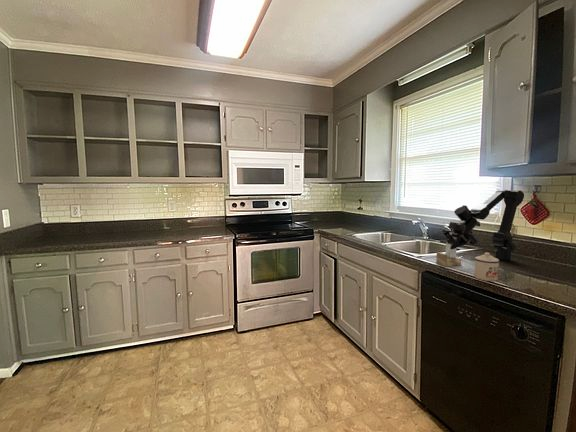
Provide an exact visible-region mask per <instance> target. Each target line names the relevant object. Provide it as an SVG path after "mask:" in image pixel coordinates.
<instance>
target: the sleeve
mask: <svg viewBox="0 0 576 432" xmlns="http://www.w3.org/2000/svg"><path fill="white" fill-rule="evenodd" d="M435 263H436V264H438V265H441V266H444V267H451V266H461V265H462V258H461V257H456V258H452V259H447V255H446V254H445V253H443V252H439V251H437V252H436V261H435Z"/></svg>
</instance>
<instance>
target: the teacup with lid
mask: <svg viewBox="0 0 576 432" xmlns="http://www.w3.org/2000/svg"><path fill="white" fill-rule="evenodd" d="M499 267H500V260H499V259H497V258H495V257H494V256H493V255H491V253H490V252H484V253H483V254H481V255H477V256H475V257H474V272H473V273H474V274H473V275H474V278H475V279H477V280H482V281H485V282H497V281H498V279H499V278H498V277H499V276H498V275H499Z"/></svg>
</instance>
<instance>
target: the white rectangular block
mask: <svg viewBox="0 0 576 432" xmlns="http://www.w3.org/2000/svg"><path fill="white" fill-rule="evenodd" d="M453 244H454V243H447V242H446V243H445V253H444V254H446V255H447V259H452V258H457V248H455V249H451V247H452V245H453Z"/></svg>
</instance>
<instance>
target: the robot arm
mask: <svg viewBox="0 0 576 432" xmlns="http://www.w3.org/2000/svg"><path fill="white" fill-rule="evenodd" d="M524 198H525V193H524V192H523V191H522V190H517V189H516V190H511V189H510V190H507V189H497V190H496V191H495V192H494V193H493V194H492V195H491V196H490V197H488V198H487V199H486V200H485V201H484V202H483V203H481V204H479V205H477V206H475V207H473V208H471V209H469V208H468V206H467V205H463V204H462V206H460V207H457V208H456V209H454V214H455V216H457V217H458V219H459V220H460V222H459V223H457V222H454V221H450V222H449V224H448V226H447V228H448V229H443V230H442V231H441V234H442V235H443V236H444V237H445V238H446V239H447V242H446V243H454V244H453V245H452V247H451V249H455V248H456V249H457V248H460V247H462V246H463V247H464V246H465V245H469V244H470V245H472V246H475V245H476V244H478V239H477V238H476V237H475V235H473V233H474V232H473V231H474V229H475V227H479V228H480V227H481V222H480V221H479V220H481V221H482V220H485V219H486V218H487V217H488V216H489V215H490V214H491V213H490V212H491V210H492V209H493V208H494V207H495V206H497V205H498V204H499V203H500V202H501V201H503V203H504V204H505V208H504V210H503V214H502V219H501V221H500V225H499V229H498V230H497V231H494V232H493V235H492V238H491V240H492V241H491V243H492V245H493V248H496V250H495V257H494V258H497V259H499V261H503V262H505V261H506V262H512V252H513V251H516V248H517V246H516V245H515V243H513V236H512V232H511V231H512V227H513V223H514V220H515V215H516V212H517V209H518V207H519V205H521V204H522V202H523V201H524ZM450 229H451V230H450ZM468 242H469V243H468Z"/></svg>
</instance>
